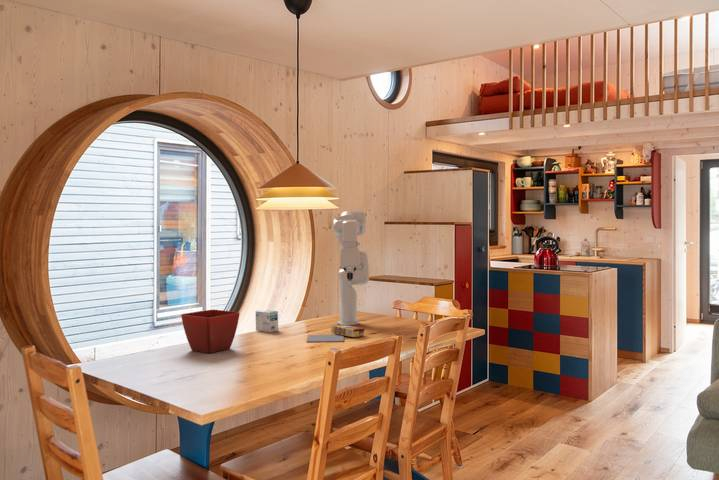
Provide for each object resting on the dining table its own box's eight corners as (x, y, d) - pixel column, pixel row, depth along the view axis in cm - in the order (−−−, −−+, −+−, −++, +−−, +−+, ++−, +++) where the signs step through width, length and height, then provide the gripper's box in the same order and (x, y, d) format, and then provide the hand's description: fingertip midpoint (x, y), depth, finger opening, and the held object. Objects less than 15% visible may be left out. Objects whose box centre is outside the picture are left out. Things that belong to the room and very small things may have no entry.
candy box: (353, 328, 293) (330, 325, 303) (353, 337, 293) (330, 333, 303) (364, 327, 300) (342, 324, 310) (364, 335, 300) (342, 332, 310)
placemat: (308, 335, 301) (308, 334, 301) (343, 335, 302) (343, 334, 302) (306, 342, 285) (306, 341, 285) (343, 341, 286) (343, 340, 286)
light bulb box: (278, 330, 316) (278, 310, 316) (270, 332, 310) (270, 312, 310) (263, 328, 322) (263, 309, 321) (255, 330, 316) (254, 310, 316)
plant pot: (213, 343, 284) (212, 308, 283) (241, 348, 273) (240, 312, 272) (180, 351, 268) (180, 314, 268) (208, 356, 257) (208, 318, 257)
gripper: (364, 244, 306) (364, 279, 308) (335, 244, 306) (335, 279, 307) (364, 245, 299) (364, 281, 300) (334, 245, 299) (335, 281, 300)
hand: (349, 280), depth 304 cm, fingers closed
